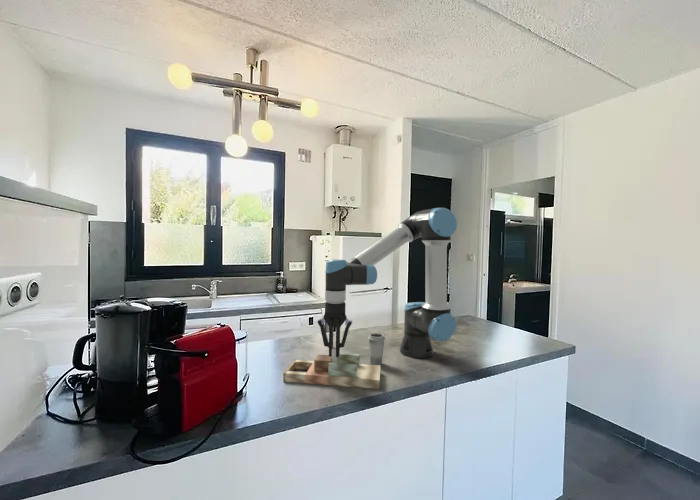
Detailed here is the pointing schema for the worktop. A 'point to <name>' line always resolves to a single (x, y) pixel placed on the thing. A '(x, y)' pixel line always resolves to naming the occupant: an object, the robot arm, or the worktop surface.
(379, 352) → the cup
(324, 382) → the compartment tray
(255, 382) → the worktop surface
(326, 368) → the block
